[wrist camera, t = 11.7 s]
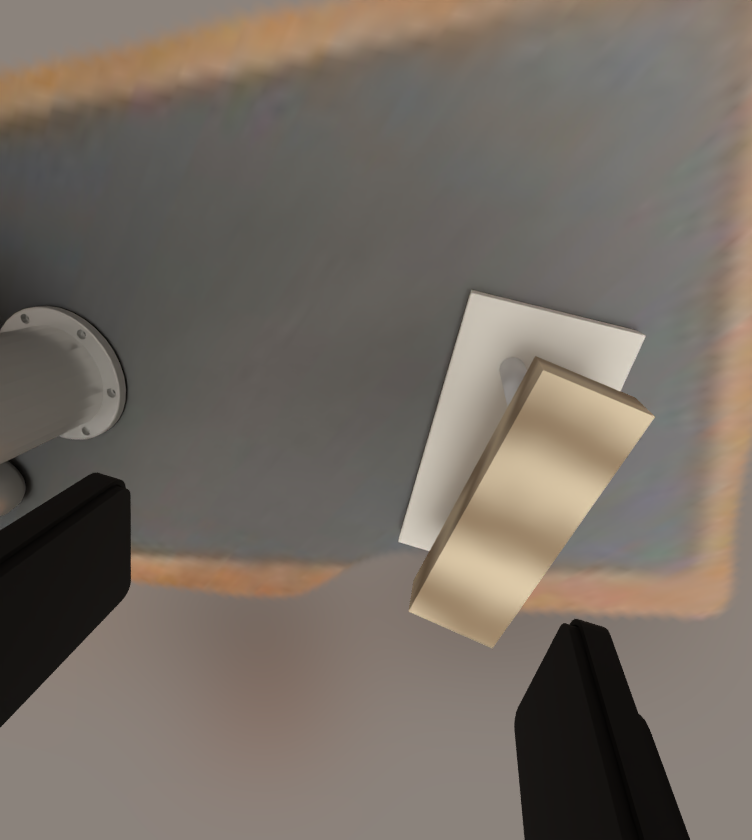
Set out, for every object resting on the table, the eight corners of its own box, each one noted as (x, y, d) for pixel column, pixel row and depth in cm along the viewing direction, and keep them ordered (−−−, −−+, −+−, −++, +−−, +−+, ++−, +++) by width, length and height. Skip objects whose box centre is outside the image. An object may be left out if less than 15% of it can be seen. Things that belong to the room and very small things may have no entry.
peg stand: (401, 528, 42) (385, 598, 34) (470, 289, 34) (471, 306, 25) (529, 566, 41) (544, 648, 33) (635, 330, 33) (692, 361, 24)
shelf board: (535, 356, 26) (543, 369, 23) (635, 397, 26) (655, 416, 23) (413, 580, 33) (408, 611, 30) (490, 614, 33) (492, 648, 30)
